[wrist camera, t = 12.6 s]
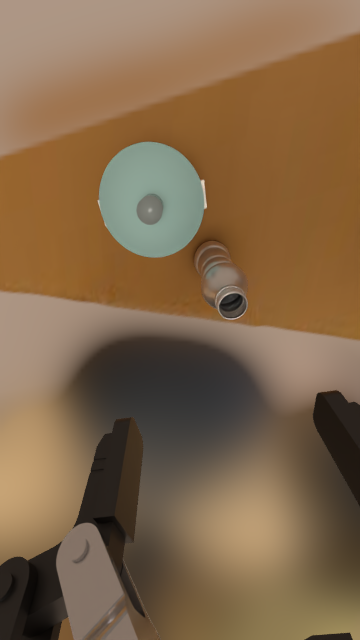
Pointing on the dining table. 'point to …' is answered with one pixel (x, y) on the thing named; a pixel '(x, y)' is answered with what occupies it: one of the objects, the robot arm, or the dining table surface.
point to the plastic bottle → (221, 280)
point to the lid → (151, 199)
